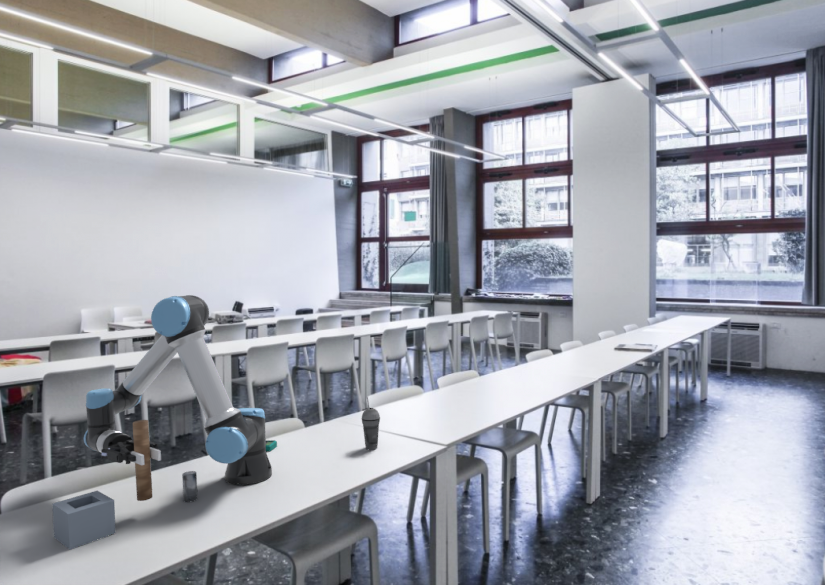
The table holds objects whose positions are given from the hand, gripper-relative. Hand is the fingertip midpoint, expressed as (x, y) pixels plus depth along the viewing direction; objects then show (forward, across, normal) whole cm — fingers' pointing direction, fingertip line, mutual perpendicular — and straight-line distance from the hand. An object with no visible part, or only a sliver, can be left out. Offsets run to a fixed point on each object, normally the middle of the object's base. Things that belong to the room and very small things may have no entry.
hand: (151, 457), depth 156 cm
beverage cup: (+5, -82, -19) cm, 85 cm away
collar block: (-5, +16, -17) cm, 24 cm away
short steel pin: (-5, -14, -18) cm, 23 cm away
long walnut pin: (-5, 0, -12) cm, 14 cm away
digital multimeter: (-32, -56, -18) cm, 67 cm away
